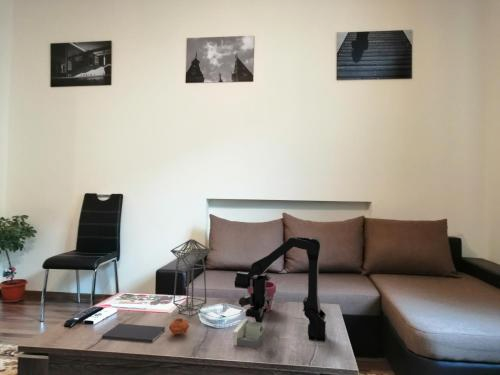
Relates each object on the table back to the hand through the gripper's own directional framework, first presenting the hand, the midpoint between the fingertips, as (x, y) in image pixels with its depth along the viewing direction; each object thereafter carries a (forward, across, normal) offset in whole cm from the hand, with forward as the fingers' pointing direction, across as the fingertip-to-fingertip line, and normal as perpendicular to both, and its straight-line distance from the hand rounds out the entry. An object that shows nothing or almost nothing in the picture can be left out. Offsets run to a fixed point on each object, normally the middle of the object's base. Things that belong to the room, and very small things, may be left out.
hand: (258, 327), depth 144 cm
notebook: (+2, +20, -47) cm, 51 cm away
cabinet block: (+1, +7, 0) cm, 7 cm away
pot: (+1, +15, -29) cm, 33 cm away
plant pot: (+1, -24, -6) cm, 24 cm away
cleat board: (+1, +10, 0) cm, 10 cm away
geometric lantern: (+1, -11, -38) cm, 39 cm away
